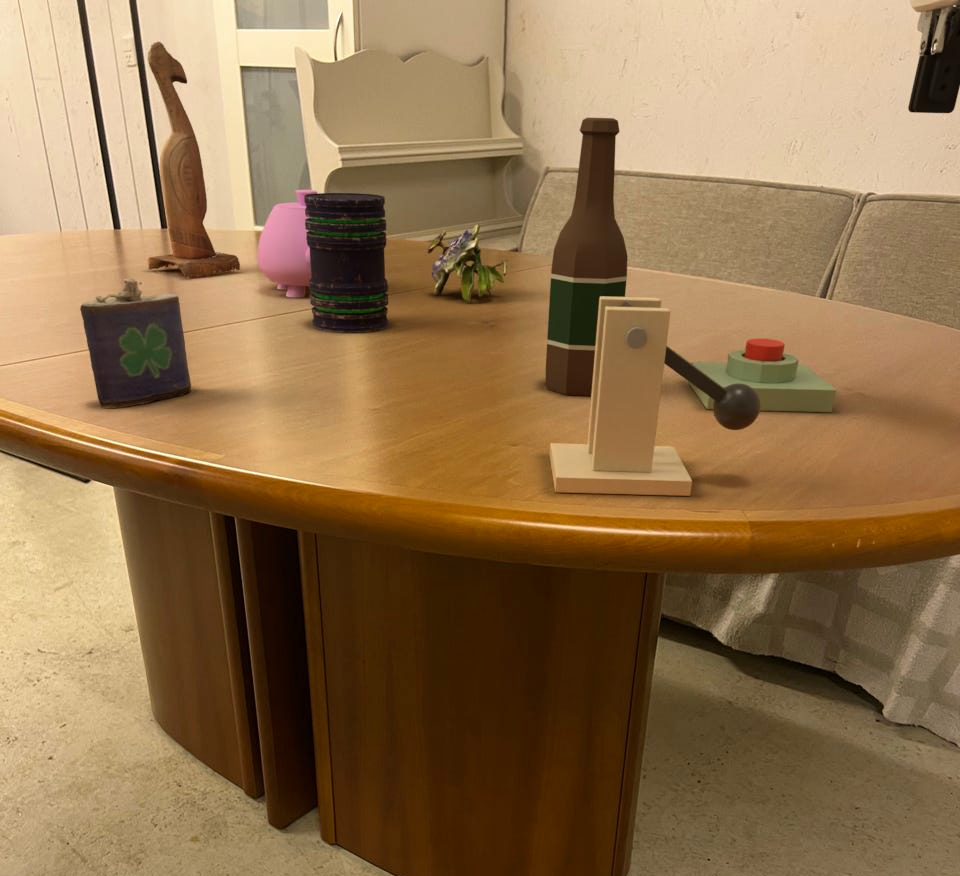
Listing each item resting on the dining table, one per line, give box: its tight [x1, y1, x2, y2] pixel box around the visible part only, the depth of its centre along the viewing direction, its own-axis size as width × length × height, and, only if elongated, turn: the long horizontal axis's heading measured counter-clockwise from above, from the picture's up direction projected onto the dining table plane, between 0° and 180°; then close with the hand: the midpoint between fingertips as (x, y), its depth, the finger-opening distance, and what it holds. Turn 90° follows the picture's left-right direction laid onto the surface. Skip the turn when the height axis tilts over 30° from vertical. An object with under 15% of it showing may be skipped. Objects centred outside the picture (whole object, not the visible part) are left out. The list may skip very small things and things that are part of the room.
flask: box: [79, 278, 192, 409], centre depth 85 cm, size 9×3×11 cm, turn 136°
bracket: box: [549, 296, 693, 497], centre depth 69 cm, size 10×8×13 cm
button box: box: [687, 348, 837, 413], centre depth 92 cm, size 12×10×4 cm
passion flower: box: [427, 224, 509, 304], centre depth 137 cm, size 11×11×12 cm
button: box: [744, 337, 786, 362], centre depth 91 cm, size 4×4×2 cm
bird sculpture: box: [147, 41, 241, 279], centre depth 145 cm, size 11×12×32 cm
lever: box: [621, 301, 760, 431], centre depth 68 cm, size 13×3×3 cm
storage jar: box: [304, 192, 389, 334], centre depth 115 cm, size 10×10×15 cm
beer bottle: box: [545, 117, 628, 397], centre depth 89 cm, size 8×8×24 cm
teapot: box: [256, 189, 318, 298], centre depth 135 cm, size 22×16×14 cm
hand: (930, 112), depth 77 cm, fingers closed
